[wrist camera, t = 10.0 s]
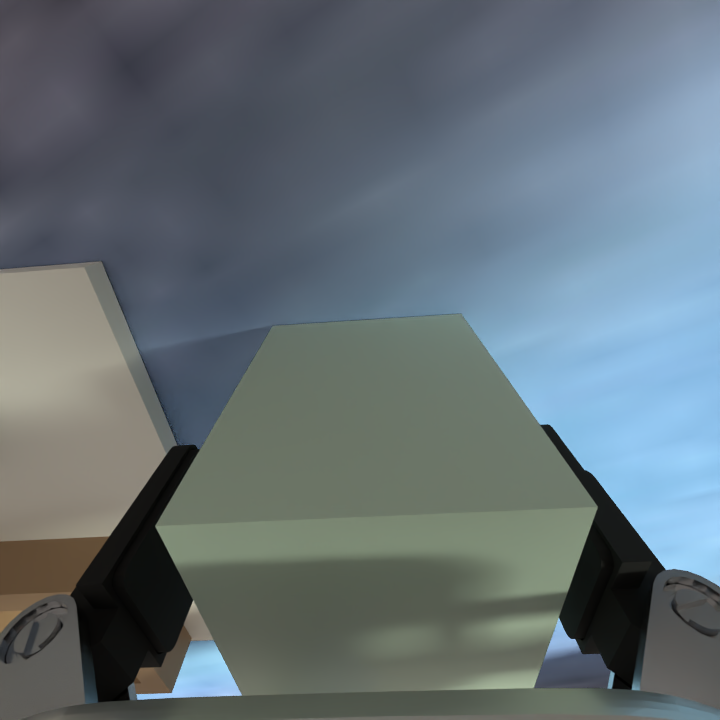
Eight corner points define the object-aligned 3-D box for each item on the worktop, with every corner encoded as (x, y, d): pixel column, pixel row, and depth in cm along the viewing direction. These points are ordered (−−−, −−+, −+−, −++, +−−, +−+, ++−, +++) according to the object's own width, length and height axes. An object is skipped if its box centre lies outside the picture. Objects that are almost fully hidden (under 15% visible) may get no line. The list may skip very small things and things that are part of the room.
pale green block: (272, 325, 12) (154, 525, 5) (461, 313, 12) (597, 507, 5) (300, 464, 16) (248, 708, 8) (451, 457, 15) (528, 702, 8)
